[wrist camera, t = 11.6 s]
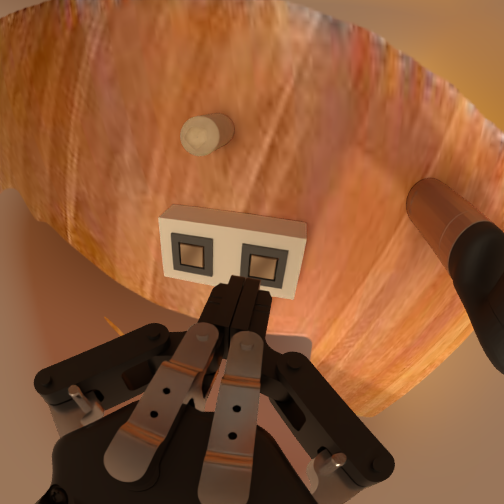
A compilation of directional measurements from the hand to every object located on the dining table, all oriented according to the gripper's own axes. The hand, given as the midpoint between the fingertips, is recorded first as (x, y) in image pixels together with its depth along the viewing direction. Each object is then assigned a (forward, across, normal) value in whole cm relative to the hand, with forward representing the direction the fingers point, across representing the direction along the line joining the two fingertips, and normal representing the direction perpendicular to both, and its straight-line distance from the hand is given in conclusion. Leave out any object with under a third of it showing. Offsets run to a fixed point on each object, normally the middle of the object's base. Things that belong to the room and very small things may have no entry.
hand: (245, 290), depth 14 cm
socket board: (+32, +7, +16) cm, 36 cm away
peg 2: (+32, +1, +16) cm, 36 cm away
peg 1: (+32, +13, +16) cm, 38 cm away
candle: (+32, +11, -4) cm, 34 cm away
